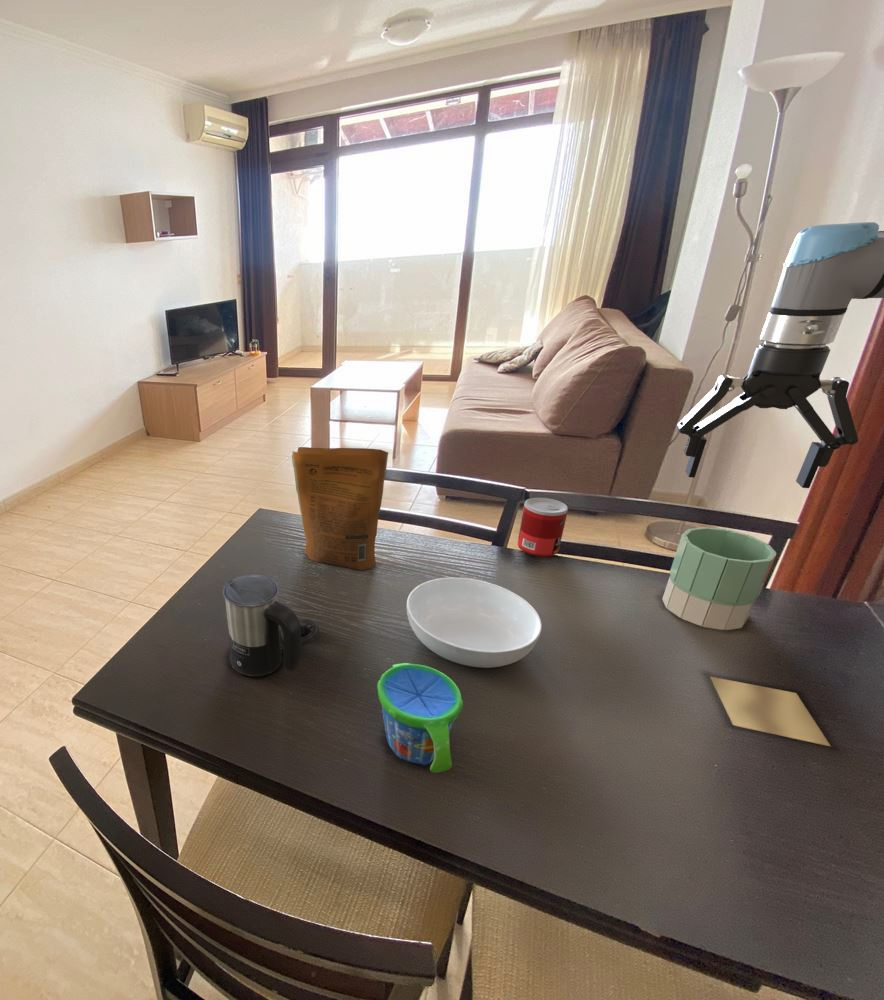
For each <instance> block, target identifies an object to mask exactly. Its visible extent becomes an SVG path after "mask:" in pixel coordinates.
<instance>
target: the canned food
mask: <svg viewBox="0 0 884 1000" xmlns="http://www.w3.org/2000/svg"><path fill="white" fill-rule="evenodd" d="M568 510H569V507H568V506H567V504H565V503H564V502H562V501H559V500H557V499H553V498H549V497H531V498H528V499H526V500H525V501H524V505H523V509H522V514H521V521H520V526H519V532H518V538H517V547H518V548H519V549H520V551H522V552H524V553H526V554H528V555H530V556H536V557H546V558H547V557H552V556H555V555H557V554H558V552H559V551H560V547H561V542H562V538H563V534H564V529H565V525H566V521H567V517H568Z"/></svg>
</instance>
